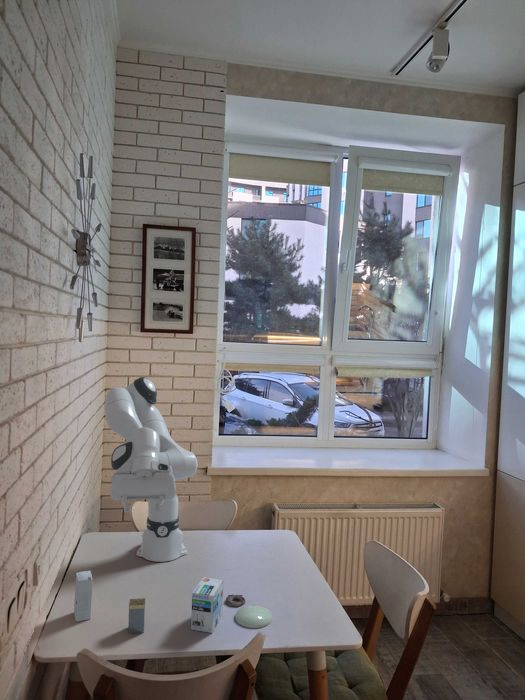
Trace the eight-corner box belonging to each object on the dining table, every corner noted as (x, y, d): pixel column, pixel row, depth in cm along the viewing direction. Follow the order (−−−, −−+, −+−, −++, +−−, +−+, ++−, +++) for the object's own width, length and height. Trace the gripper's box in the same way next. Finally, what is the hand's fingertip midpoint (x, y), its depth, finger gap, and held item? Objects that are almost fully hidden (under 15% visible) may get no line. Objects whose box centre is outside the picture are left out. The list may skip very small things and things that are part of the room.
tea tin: (129, 626, 151) (129, 599, 151) (144, 625, 152) (145, 598, 152) (128, 634, 148) (128, 605, 147) (143, 633, 148) (144, 604, 148)
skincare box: (73, 612, 158) (74, 572, 157) (89, 609, 160) (90, 569, 159) (75, 622, 152) (76, 581, 152) (91, 619, 154) (93, 578, 154)
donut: (251, 608, 165) (251, 602, 165) (227, 613, 162) (227, 606, 162) (241, 595, 173) (242, 589, 173) (219, 599, 170) (219, 593, 169)
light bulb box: (212, 634, 149) (214, 596, 149) (189, 630, 150) (191, 592, 150) (223, 614, 160) (224, 579, 159) (201, 611, 161) (202, 576, 161)
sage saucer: (233, 610, 163) (233, 606, 163) (268, 608, 165) (268, 604, 165) (237, 630, 152) (237, 626, 152) (275, 628, 154) (275, 624, 154)
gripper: (111, 466, 168) (106, 506, 159) (176, 465, 172) (175, 505, 162) (112, 476, 173) (108, 516, 163) (176, 476, 176) (175, 515, 167)
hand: (142, 511), depth 163 cm, fingers open, 8 cm apart
